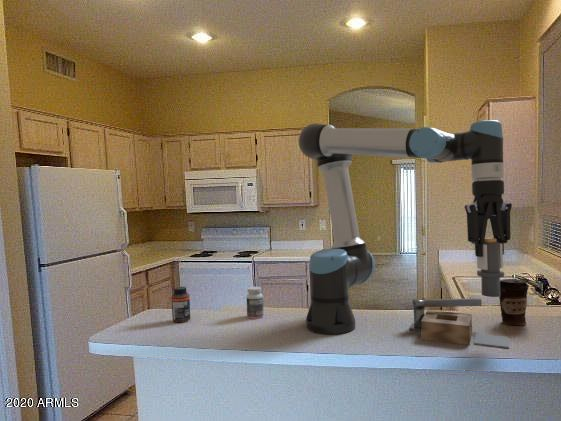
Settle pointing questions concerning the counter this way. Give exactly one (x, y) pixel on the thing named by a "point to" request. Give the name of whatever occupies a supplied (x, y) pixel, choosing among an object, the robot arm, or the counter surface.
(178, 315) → the supplement bottle
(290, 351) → the counter surface
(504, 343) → the mat
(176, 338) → the counter surface
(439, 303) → the grey long bar
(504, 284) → the coffee cup
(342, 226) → the robot arm
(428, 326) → the socket
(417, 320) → the post
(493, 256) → the plug
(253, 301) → the pill bottle
